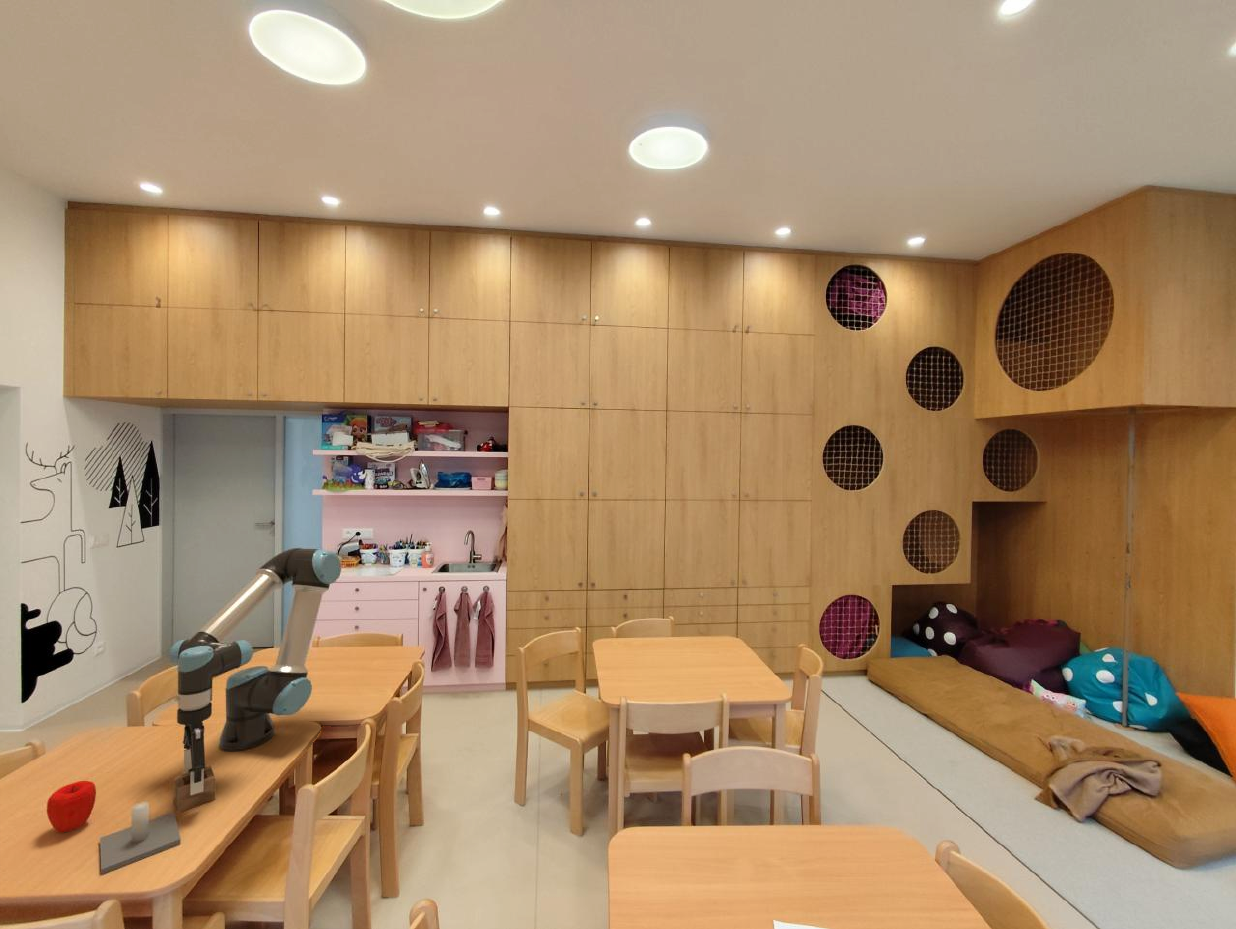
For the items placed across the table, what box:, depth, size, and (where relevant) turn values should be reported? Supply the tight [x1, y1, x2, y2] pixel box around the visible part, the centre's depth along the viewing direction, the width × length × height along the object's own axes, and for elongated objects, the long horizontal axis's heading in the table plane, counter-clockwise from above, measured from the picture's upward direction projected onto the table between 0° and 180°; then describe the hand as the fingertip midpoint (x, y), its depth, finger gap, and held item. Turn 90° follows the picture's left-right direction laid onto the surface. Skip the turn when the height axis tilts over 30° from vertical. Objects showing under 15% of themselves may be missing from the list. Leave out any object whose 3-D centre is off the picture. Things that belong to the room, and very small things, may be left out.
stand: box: [99, 801, 181, 876], centre depth 131 cm, size 14×14×9 cm
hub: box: [174, 765, 216, 813], centre depth 148 cm, size 8×8×6 cm
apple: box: [46, 780, 97, 834], centre depth 136 cm, size 9×9×11 cm
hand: (193, 782), depth 148 cm, fingers open, 13 cm apart
